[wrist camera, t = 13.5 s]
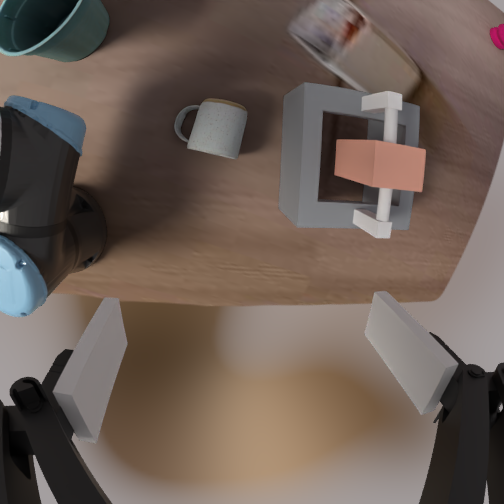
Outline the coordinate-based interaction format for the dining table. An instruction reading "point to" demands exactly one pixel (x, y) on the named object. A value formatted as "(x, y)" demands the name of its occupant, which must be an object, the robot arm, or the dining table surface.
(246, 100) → the dining table surface
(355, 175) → the coral u-channel block
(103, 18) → the flower pot
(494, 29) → the pepper mill
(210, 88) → the dining table surface
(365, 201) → the gray square frame
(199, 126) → the ceramic mug
